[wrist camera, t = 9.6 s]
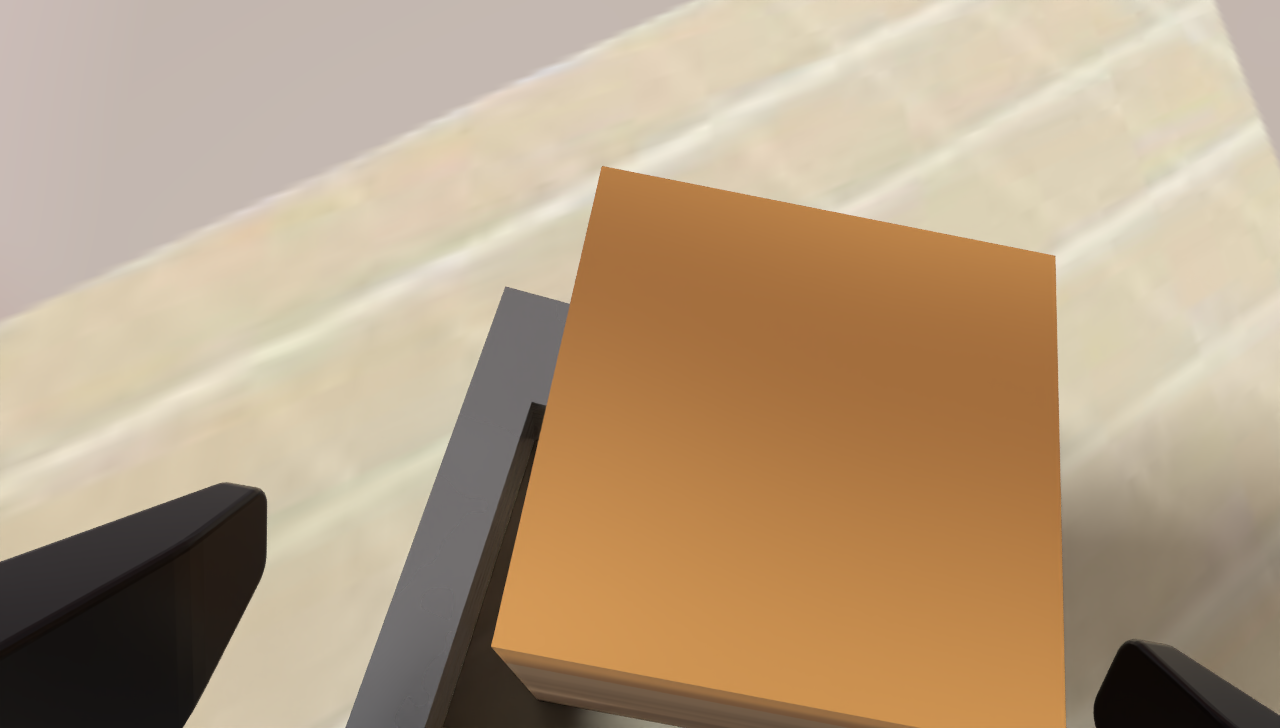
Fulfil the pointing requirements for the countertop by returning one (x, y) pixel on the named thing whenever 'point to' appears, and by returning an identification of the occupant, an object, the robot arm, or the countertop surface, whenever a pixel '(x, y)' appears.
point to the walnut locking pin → (794, 474)
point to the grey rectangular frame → (464, 521)
